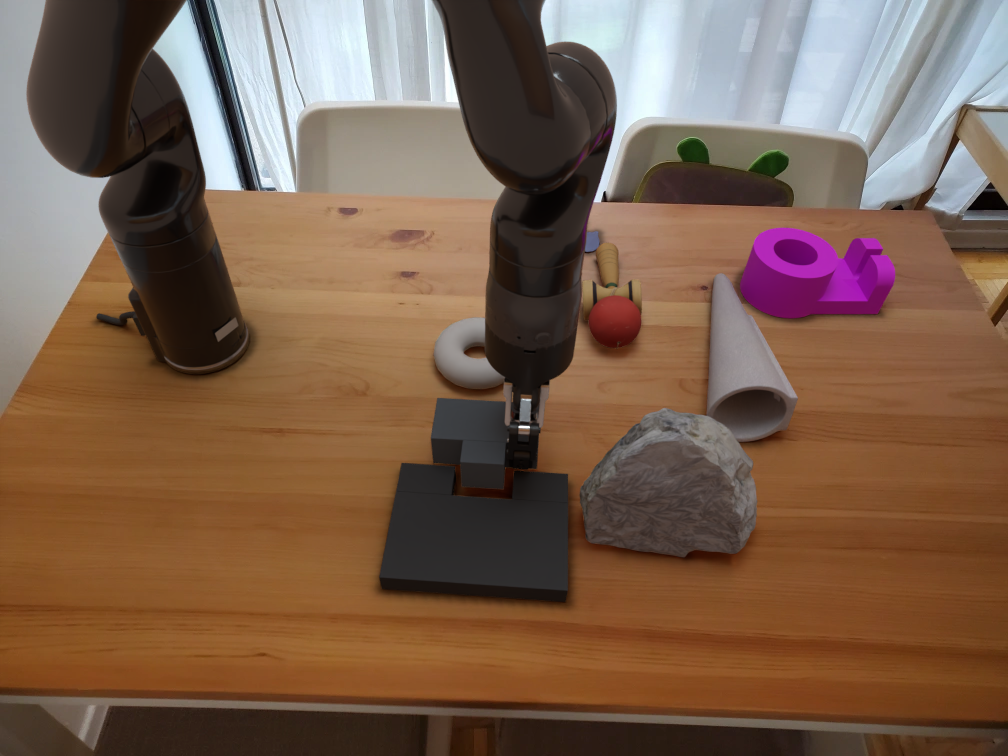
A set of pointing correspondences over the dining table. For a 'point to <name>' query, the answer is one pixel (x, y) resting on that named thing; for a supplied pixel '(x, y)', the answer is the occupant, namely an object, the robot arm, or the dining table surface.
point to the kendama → (612, 302)
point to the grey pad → (473, 440)
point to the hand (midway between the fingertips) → (521, 441)
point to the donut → (459, 364)
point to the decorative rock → (672, 488)
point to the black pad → (478, 537)
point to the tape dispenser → (815, 275)
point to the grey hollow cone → (744, 371)
